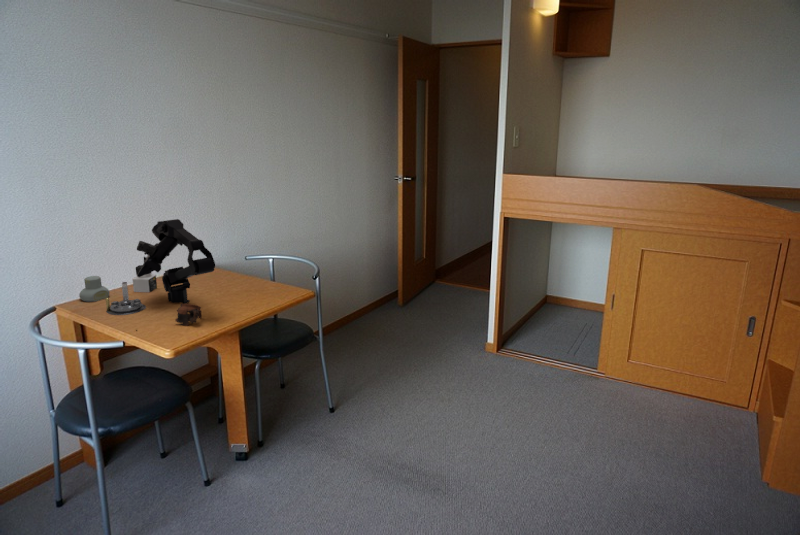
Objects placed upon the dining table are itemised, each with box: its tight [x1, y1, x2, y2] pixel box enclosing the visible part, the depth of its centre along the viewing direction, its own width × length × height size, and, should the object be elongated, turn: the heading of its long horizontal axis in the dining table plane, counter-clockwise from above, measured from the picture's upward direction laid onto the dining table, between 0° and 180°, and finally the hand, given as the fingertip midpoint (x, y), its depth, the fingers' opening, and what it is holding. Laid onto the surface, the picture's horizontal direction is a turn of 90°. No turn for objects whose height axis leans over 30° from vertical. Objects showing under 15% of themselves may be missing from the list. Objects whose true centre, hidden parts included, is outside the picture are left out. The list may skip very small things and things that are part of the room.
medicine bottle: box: [132, 264, 158, 293], centre depth 241 cm, size 7×7×12 cm
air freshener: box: [78, 275, 110, 303], centre depth 229 cm, size 11×8×10 cm
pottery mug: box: [174, 303, 202, 327], centre depth 208 cm, size 12×10×8 cm
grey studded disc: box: [110, 281, 143, 313], centre depth 218 cm, size 14×11×8 cm
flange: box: [104, 297, 147, 316], centre depth 217 cm, size 14×14×6 cm
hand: (138, 276), depth 222 cm, fingers closed
